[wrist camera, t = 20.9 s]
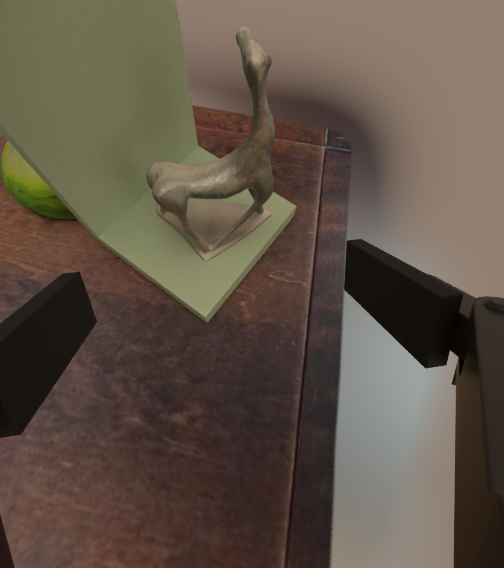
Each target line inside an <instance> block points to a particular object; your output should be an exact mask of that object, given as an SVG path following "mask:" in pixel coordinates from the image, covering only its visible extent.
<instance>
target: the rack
mask: <svg viewBox="0 0 504 568" xmlns="http://www.w3.org/2000/svg"><path fill="white" fill-rule="evenodd" d="M0 132H1V134H2V135H3V136H4V137H5V138H6V139H7V140H8V141H9V143H10V144H11V145H12V146H13V147H14V148H15V149H16V150H17V152H18V153H19V154H20V155H21V156H22V157H23V158H24V160H25V161H26V162H27V163H28V164H29V165H30V166H31V167H32V169H33V170H34V171H35V172H36V173H37V174H38V175H39V176H40V178H41V179H42V180H43V181H44V182H45V183H46V184H47V185H48V187H49V188H50V189H51V190H52V191H53V192H54V193H55V194H56V196H57V197H58V198H59V199H60V200H61V201H62V202H63V203H64V205H65V206H66V207H67V208H68V209H69V210H70V211H71V212H72V214H73V215H74V216H75V217H76V218H77V219H78V220H79V221H80V223H81V224H82V225H83V226H84V227H85V228H86V229H87V230H88V232H89V233H90V234H91V235H92V236H93V237H94V238H95V239H96V240H97V241H98V242H100V243H101V244H102V245H104V246H105V247H106V248H108V249H109V250H110V251H112V252H113V253H114V254H116V255H117V256H118V257H120V258H121V259H122V260H124V261H125V262H126V263H128V264H129V265H130V266H132V267H133V268H134V269H136V270H137V271H138V272H140V273H141V274H142V275H144V276H145V277H146V278H148V279H149V280H150V281H152V282H153V283H154V284H156V285H157V286H158V287H160V288H161V289H162V290H164V291H165V292H166V293H168V294H169V295H170V296H172V297H173V298H174V299H176V300H177V301H178V302H179V303H181V304H182V305H183V306H185V307H186V308H187V309H189V310H190V311H191V312H193V313H194V314H195V315H197V316H198V317H199V318H201V319H202V320H203V321H205V322H206V323H208V322H209V320H210V319H211V318H212V317H213V316H214V314H215V313H216V312H217V311H218V309H219V308H220V307H221V306H222V304H223V303H224V302H225V301H226V300H227V298H228V297H229V296H230V295H231V293H232V292H233V291H234V290H235V288H236V287H237V286H238V285H239V284H240V282H241V281H242V280H243V279H244V277H245V276H246V275H247V274H248V272H249V271H250V270H251V269H252V268H253V266H254V265H255V264H256V263H257V261H258V260H259V259H260V258H261V256H262V255H263V254H264V253H265V252H266V250H267V249H268V248H269V247H270V245H271V244H272V243H273V242H274V240H275V239H276V238H277V237H278V236H279V234H280V233H281V232H282V231H283V229H284V228H285V227H286V226H287V224H288V223H289V222H290V221H291V220H292V218H293V216H294V212H295V209H296V206H295V205H294V204H292V203H290V202H289V201H287V200H285V199H284V198H282V197H281V196H279V195H277V194H276V193H274V192H273V193H272V195H271V197H270V198H269V199H268V200H267V201H266V202H265V203H264V204H263V205H262V206H263V207H265V208H268V209H269V210H270V212H271V214H272V215H271V217H270V218H268V219H267V220H266V221H265V222H264V223H262V224H261V225H260V226H259V227H258V228H256V229H255V230H254V231H253V232H251V233H250V234H249V235H247V236H246V237H245V238H243V239H242V240H240V241H239V242H237V243H236V244H234V245H233V246H231V247H230V248H228V249H227V250H225V251H224V252H222V253H221V254H219V255H218V256H216V257H214V258H213V259H211V260H210V261H208V262H205V261H204V260H202V259H201V257H200V256H199V255H198V254H197V253H196V252H195V250H194V249H193V248H192V247H191V245H190V244H189V243H188V242H187V241H186V239H185V238H184V237H183V236H182V235H181V234H180V233H178V232H177V231H176V230H175V229H174V228H173V227H172V226H171V225H169V224H168V223H167V222H165V221H164V220H163V219H162V218H160V217H159V216H158V214H157V211H156V206H157V202H156V201H155V200H154V198H153V195H152V189H151V188H150V187H149V185H148V183H147V180H146V173H147V170H148V168H149V166H150V165H151V164H153V163H154V162H157V161H168V162H173V163H176V164H180V165H188V166H195V165H201V164H204V163H209V162H213V161H216V160H219V158H217V157H216V156H214V155H212V154H211V153H209V152H207V151H206V150H204V149H203V148H201V147H199V146H198V141H197V135H196V128H195V122H194V115H193V109H192V103H191V96H190V89H189V83H188V76H187V70H186V63H185V57H184V50H183V44H182V37H181V31H180V24H179V18H178V11H177V5H176V0H0ZM198 200H204V201H218V202H225V203H233V204H239V205H247V206H252V204H253V203H254V199H253V197H252V196H251V194H250V192H249V190H248V189H246V190H244V191H242V192H241V193H239V194H236V195H234V196H232V197H229V198H226V199H195V198H190V199H188V201H198Z"/></svg>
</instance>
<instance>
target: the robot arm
mask: <svg viewBox="0 0 504 568" xmlns="http://www.w3.org/2000/svg"><path fill="white" fill-rule="evenodd" d="M344 290H345V291H346V292H347V293H348V294H350V295H351V296H352V297H353V298H354V299H355V300H356V301H357V302H358V303H359V304H360V305H361V306H362V307H363V308H364V309H365V310H366V311H367V312H368V313H369V314H370V315H371V316H372V317H373V318H374V319H375V320H376V321H377V322H378V323H379V324H380V325H381V326H383V328H384V329H386V330H387V331H388V332H389V333H390V334H391V335H392V336H393V337H394V338H395V339H396V340H397V341H398V342H399V343H400V344H401V345H402V346H403V347H404V348H405V349H406V350H407V351H408V352H409V353H410V354H411V355H412V356H413V357H414V358H415V359H416V360H417V361H419V363H420V364H421V365H423V366H424V367H425V368H432V367H438V366H444V365H446V364H447V360H448V356H449V352H450V350H451V351H452V352H453V353H454V354H456V355H457V356H458V357H459V358H458V362H457V366H456V370H455V374H454V377H453V381H452V384H453V385H456V433H455V434H456V435H455V437H456V439H455V511H454V512H455V513H454V516H455V517H454V568H504V298H499V297H479V298H475V297H473V296H471V295H469V294H467V293H465V292H463V291H461V290H460V289H458V288H456V287H452V285H450V284H448V283H446V282H445V283H444V281H442V280H440V279H439V278H437V277H435V276H432V275H429V274H426V273H424V272H422V271H420V270H418V269H416V268H414V267H412V266H411V265H408V264H407V263H405V262H403V261H401V260H399V259H398V258H396V257H394V256H392V255H390V254H388V253H386V252H384V251H383V250H380V249H379V248H377V247H375V246H373V245H371V244H369V243H368V242H366V241H364V240H362V239H357V240H349V241H347V248H346V266H345V283H344ZM96 323H97V321H96V318H95V315H94V312H93V309H92V306H91V303H90V300H89V297H88V294H87V291H86V288H85V286H84V283H83V280H82V277H81V274H80V272H73V273H64V274H62V275H60V276H59V277H58V278H57V279H55V280H54V281H53V282H52V283H50V284H49V285H48V286H47V287H45V288H44V289H43V290H42V291H40V292H39V293H38V294H37V295H35V296H34V297H33V298H32V299H30V300H29V301H28V302H27V303H26V304H24V305H23V306H22V307H21V308H19V309H18V310H17V311H16V312H14V313H13V314H12V315H11V316H9V317H8V318H7V319H6V320H4V321H3V322H2V323H1V324H0V438H3V437H9V436H15V435H21V434H22V432H23V431H24V429H25V428H26V426H27V425H28V423H29V422H30V420H31V419H32V417H33V416H34V414H35V413H36V411H37V410H38V408H39V407H40V406H41V404H42V403H43V401H44V400H45V398H46V397H47V395H48V394H49V392H50V391H51V389H52V388H53V386H54V385H55V383H56V382H57V380H58V379H59V377H60V376H61V374H62V373H63V371H64V370H65V369H66V367H67V366H68V364H69V363H70V361H71V360H72V358H73V357H74V355H75V354H76V352H77V351H78V349H79V348H80V346H81V345H82V343H83V342H84V340H85V339H86V337H87V336H88V334H89V333H90V332H91V330H92V329H93V327H94V326H95V324H96ZM0 568H15V567H14V564H13V560H12V556H11V553H10V549H9V545H8V542H7V538H6V534H5V531H4V527H3V523H2V520H1V516H0Z"/></svg>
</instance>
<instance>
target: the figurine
mask: <svg viewBox="0 0 504 568" xmlns="http://www.w3.org/2000/svg"><path fill="white" fill-rule="evenodd" d="M236 40H237V43H238V45H239V47H240V50H241V55H242V61H243V69H244V73H245V76H246V79H247V82H248V85H249V88H250V90H251V94H252V98H253V104H254V113H253V121H252V126H251V130H250V132H249V134H248V136H247V138H246V139H245V141H244V142H243V143H242V144H241V145H240V146H239V147H238V148H237V149H236V150H234V151H233V152H231V153H230V154H228V155H227V156H225V157H223V158H221V159H219V160H216V161H213V162H209V163H204V164H201V165H195V166H188V165H180V164H176V163H173V162H168V161H157V162H154V163H153V164H151V165H150V166H149V168H148V170H147V173H146V180H147V183H148V185H149V187H150V188H151V189H152V195H153V198H154V200H155V201H156V202H157V206H156V211H157V214H158V216H159V217H160V218H162V219H163V220H164V221H165V222H167V223H168V224H169V225H171V226H172V227H173V228H174V229H175V230H176V231H177V232H178V233H180V234H181V235H182V236H183V237H184V238H185V239H186V241H187V242H188V243H189V244H190V245H191V247H192V248H193V249H194V250H195V252H196V253H197V254H198V255H199V256H200V257H201V259H202V260H204V261H205V262H208V261H210V260H211V259H213V258H214V257H216V256H218V255H219V254H221V253H222V252H224V251H225V250H227V249H228V248H230V247H231V246H233V245H234V244H236V243H237V242H239V241H240V240H242V239H243V238H245V237H246V236H247V235H249V234H250V233H251V232H253V231H254V230H255V229H256V228H258V227H259V226H260V225H261V224H262V223H264V222H265V221H266V220H267V219H268V218H270V217H271V215H272V214H271V212H270V210H269V209H268V208H265V207H263V206H262V205H263V204H264V203H265V202H266V201H267V200H268V199H269V198H270V197H271V195H272V193H273V189H274V179H273V175H272V170H271V164H270V154H271V150H272V147H273V143H274V138H275V126H274V122H273V118H272V115H271V113H270V110H269V107H268V103H267V97H266V81H267V74H268V70H269V68H270V66H271V63H272V60H271V57H270V56H268V55H266V54H265V53H264V51H263V49H262V48H261V47H260V46H259V45H258V44H257V43H256V42H254V41H253V39H252V35H251V32H250V30H249V29H248V28H247V27H245V26H244V27H242V28H240V29H239V31H238V33H237V35H236ZM246 189H248V190H249V192H250V194H251V196H252V197H253V199H254V203H253V204H252V206H247V205H239V204H233V203H225V202H218V201H204V200H198V201H188V199H190V198H195V199H226V198H229V197H232V196H234V195H236V194H239V193H241V192H242V191H244V190H246Z"/></svg>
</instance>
